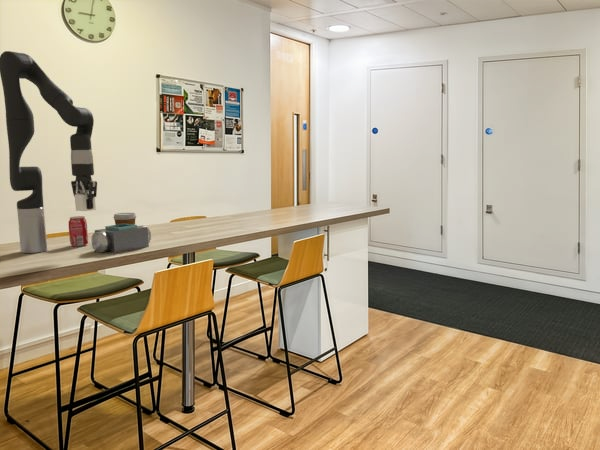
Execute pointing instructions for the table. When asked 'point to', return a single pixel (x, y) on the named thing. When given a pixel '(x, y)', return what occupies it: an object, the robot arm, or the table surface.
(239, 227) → the table surface
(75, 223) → the soda can
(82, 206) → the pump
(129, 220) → the disposable coffee cup
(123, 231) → the motor
